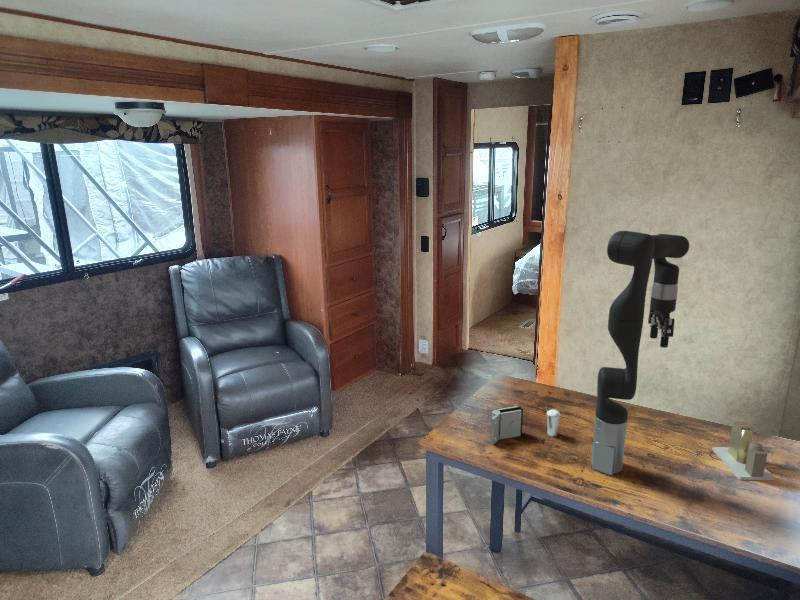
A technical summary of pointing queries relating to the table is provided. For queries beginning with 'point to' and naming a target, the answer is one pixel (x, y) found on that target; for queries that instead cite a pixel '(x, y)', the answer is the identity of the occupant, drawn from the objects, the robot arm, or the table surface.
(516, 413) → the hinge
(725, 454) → the mounting plate
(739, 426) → the brown tall block
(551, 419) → the milkshake
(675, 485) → the table surface
